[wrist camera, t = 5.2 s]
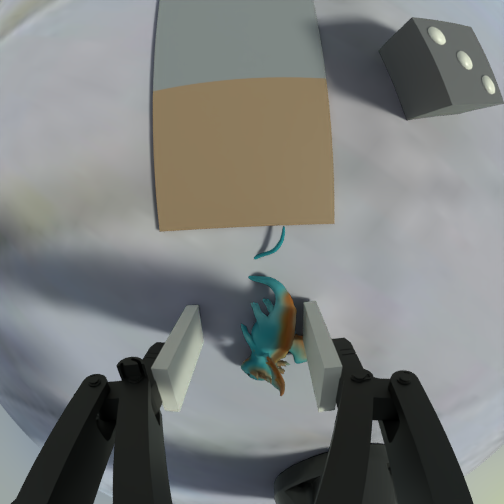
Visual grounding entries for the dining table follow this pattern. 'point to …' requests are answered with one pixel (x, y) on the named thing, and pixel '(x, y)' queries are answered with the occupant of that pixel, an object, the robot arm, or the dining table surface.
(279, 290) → the dragon figurine
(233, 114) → the game board
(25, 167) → the dining table surface
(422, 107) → the die
